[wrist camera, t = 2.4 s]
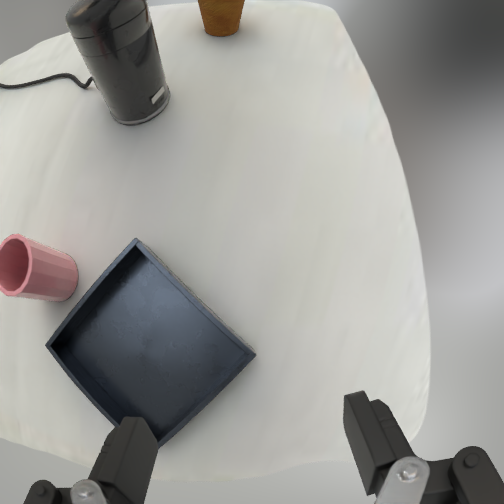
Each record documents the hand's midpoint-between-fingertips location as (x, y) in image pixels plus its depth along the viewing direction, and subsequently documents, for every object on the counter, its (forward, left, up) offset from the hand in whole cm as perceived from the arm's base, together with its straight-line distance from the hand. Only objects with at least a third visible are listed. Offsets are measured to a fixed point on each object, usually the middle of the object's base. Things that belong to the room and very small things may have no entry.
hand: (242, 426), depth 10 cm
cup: (-22, -10, -22) cm, 33 cm away
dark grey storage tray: (-7, -7, -22) cm, 24 cm away
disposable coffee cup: (-39, +37, -22) cm, 58 cm away
